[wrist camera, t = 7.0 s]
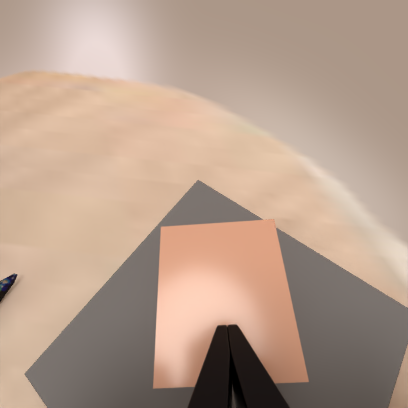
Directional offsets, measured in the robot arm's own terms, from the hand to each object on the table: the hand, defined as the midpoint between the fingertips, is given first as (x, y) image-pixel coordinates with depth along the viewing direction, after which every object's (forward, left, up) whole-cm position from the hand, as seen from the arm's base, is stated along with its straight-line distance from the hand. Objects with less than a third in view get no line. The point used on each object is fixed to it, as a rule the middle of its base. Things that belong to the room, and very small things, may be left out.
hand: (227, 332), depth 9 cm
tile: (-2, +2, -5) cm, 5 cm away
